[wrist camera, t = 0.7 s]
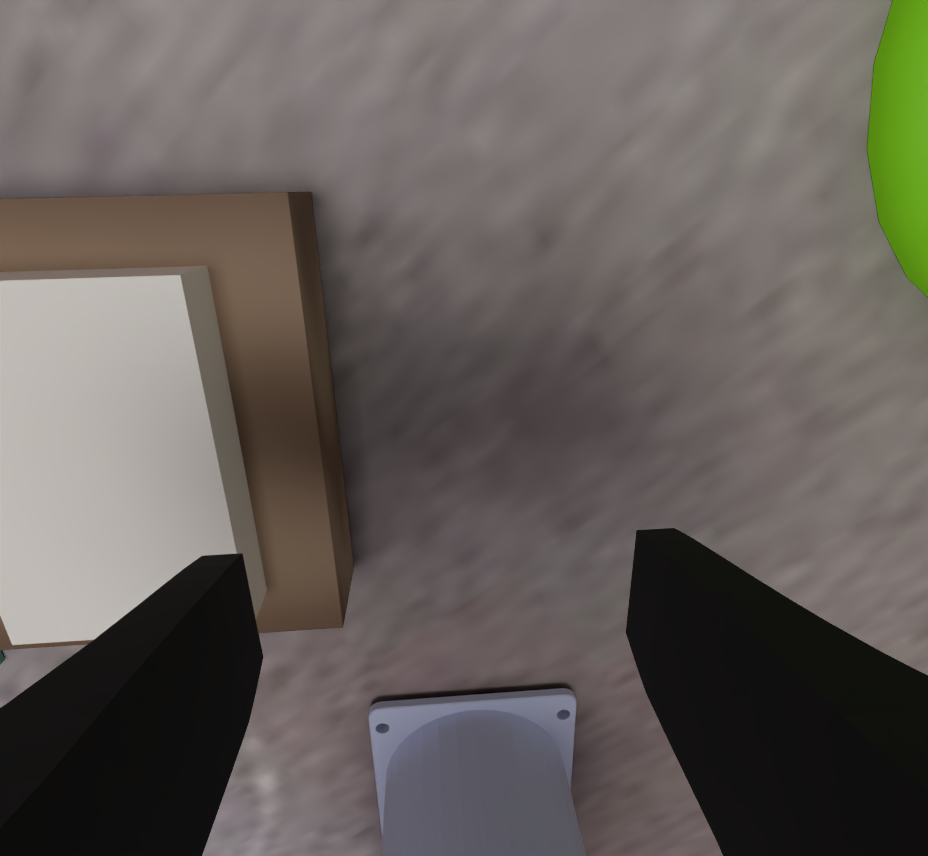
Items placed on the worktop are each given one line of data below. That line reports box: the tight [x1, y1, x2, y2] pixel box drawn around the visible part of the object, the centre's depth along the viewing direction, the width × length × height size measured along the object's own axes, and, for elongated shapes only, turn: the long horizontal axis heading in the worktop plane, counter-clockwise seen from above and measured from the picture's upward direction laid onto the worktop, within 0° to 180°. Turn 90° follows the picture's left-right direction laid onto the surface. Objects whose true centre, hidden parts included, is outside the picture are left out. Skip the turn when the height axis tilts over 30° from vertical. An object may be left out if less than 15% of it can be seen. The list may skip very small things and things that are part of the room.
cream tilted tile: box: [0, 266, 267, 645], centre depth 14 cm, size 9×6×2 cm, turn 1°
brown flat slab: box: [0, 192, 354, 650], centre depth 16 cm, size 12×12×3 cm
